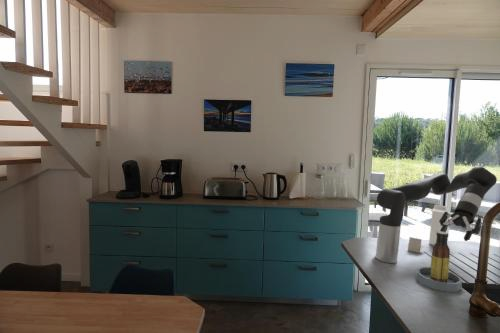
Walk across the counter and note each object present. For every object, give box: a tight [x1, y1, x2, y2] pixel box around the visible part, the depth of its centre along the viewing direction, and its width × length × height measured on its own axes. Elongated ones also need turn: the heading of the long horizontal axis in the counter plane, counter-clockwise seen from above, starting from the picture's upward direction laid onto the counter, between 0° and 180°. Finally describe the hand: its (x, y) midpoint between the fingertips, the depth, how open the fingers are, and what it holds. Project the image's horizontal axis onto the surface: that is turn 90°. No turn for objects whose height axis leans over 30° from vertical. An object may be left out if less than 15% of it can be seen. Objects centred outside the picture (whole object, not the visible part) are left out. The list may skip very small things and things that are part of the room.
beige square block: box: [407, 236, 425, 253], centre depth 172 cm, size 3×7×7 cm, turn 58°
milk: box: [428, 204, 448, 246], centre depth 185 cm, size 6×6×22 cm
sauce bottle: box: [430, 231, 451, 283], centre depth 134 cm, size 7×6×20 cm
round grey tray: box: [415, 266, 463, 293], centre depth 134 cm, size 16×16×3 cm
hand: (453, 236), depth 135 cm, fingers open, 8 cm apart
